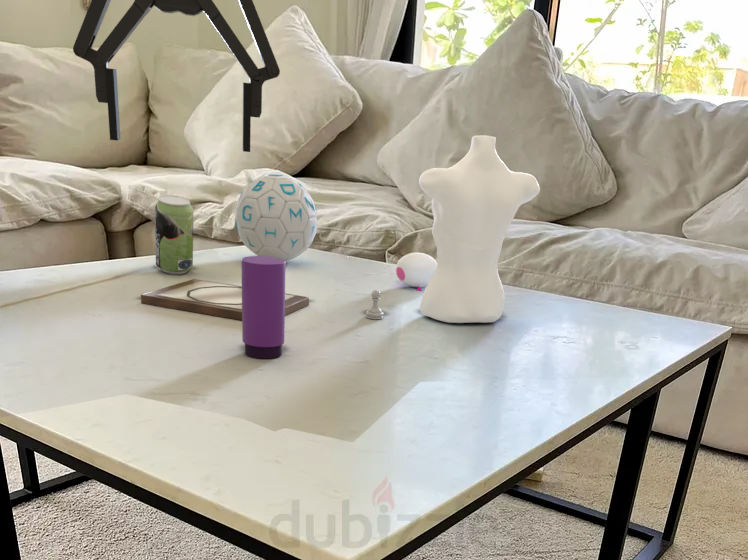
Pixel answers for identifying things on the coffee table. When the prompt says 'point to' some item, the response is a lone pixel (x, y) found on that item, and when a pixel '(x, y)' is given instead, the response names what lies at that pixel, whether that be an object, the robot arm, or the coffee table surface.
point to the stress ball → (416, 269)
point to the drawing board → (210, 298)
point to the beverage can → (174, 234)
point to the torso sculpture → (471, 232)
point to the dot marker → (263, 306)
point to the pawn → (375, 307)
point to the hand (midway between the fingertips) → (181, 145)
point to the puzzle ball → (276, 217)
